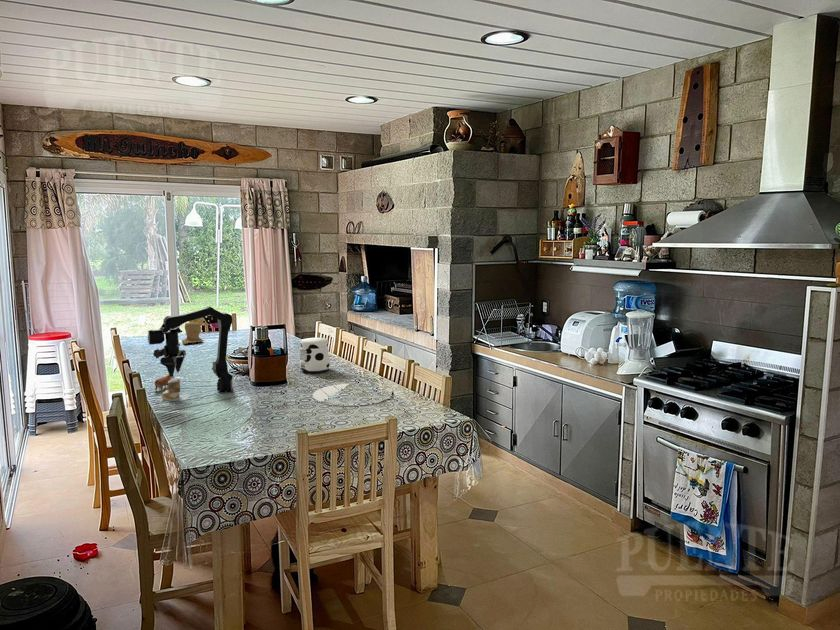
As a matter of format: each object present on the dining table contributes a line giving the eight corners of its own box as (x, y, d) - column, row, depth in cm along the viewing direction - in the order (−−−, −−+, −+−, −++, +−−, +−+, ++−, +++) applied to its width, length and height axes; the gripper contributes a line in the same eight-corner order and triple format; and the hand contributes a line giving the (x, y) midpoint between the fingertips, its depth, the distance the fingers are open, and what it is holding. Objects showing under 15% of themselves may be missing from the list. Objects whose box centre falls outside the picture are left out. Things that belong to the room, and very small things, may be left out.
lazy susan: (377, 382, 324) (377, 375, 324) (407, 400, 289) (407, 393, 289) (303, 390, 307) (303, 384, 307) (325, 411, 272) (325, 404, 272)
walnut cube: (180, 389, 294) (179, 379, 293) (179, 392, 289) (179, 381, 288) (169, 390, 292) (168, 380, 291) (168, 393, 288) (167, 382, 287)
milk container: (333, 367, 356) (332, 337, 353) (326, 374, 339) (325, 343, 336) (304, 367, 358) (303, 337, 355) (295, 374, 341) (294, 342, 338)
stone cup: (198, 340, 443) (197, 320, 440) (205, 342, 434) (204, 322, 432) (177, 343, 432) (176, 322, 430) (184, 345, 424) (183, 324, 422)
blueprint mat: (191, 396, 296) (191, 394, 296) (184, 402, 286) (184, 400, 286) (166, 396, 295) (166, 394, 295) (158, 402, 286) (158, 400, 285)
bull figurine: (177, 387, 313) (176, 372, 312) (159, 394, 300) (158, 378, 299) (170, 386, 314) (169, 371, 313) (152, 393, 301) (151, 377, 300)
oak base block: (179, 395, 294) (179, 389, 293) (175, 399, 288) (174, 393, 287) (166, 396, 293) (166, 390, 293) (162, 399, 287) (162, 393, 287)
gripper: (161, 339, 298) (164, 370, 300) (147, 346, 280) (150, 379, 282) (185, 338, 299) (187, 369, 301) (172, 346, 280) (174, 378, 283)
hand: (174, 374), depth 292 cm, fingers open, 9 cm apart
